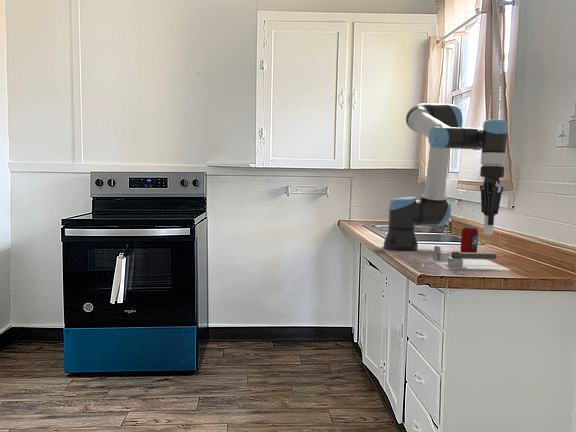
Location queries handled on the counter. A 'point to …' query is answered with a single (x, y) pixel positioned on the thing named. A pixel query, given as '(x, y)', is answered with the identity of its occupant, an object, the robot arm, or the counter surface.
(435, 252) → the keeper
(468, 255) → the latch bar
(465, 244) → the beverage can
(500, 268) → the door board
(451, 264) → the grey latch pivot mount
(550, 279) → the counter surface
